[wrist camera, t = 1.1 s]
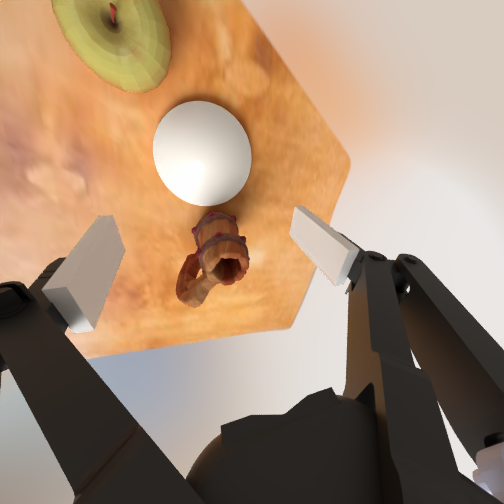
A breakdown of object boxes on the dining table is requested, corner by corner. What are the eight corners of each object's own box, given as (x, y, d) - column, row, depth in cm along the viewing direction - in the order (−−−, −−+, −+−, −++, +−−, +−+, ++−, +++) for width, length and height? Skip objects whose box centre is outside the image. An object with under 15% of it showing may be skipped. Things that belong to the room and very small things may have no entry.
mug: (218, 195, 36) (235, 236, 24) (245, 223, 41) (270, 268, 29) (163, 245, 39) (155, 304, 27) (194, 266, 43) (199, 324, 32)
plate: (140, 178, 31) (138, 180, 30) (176, 73, 26) (176, 71, 25) (224, 216, 39) (225, 218, 38) (265, 141, 33) (268, 142, 32)
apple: (177, 6, 23) (175, -35, 16) (169, 107, 27) (166, 105, 21) (66, -54, 19) (8, -137, 12) (80, 76, 23) (43, 62, 17)
